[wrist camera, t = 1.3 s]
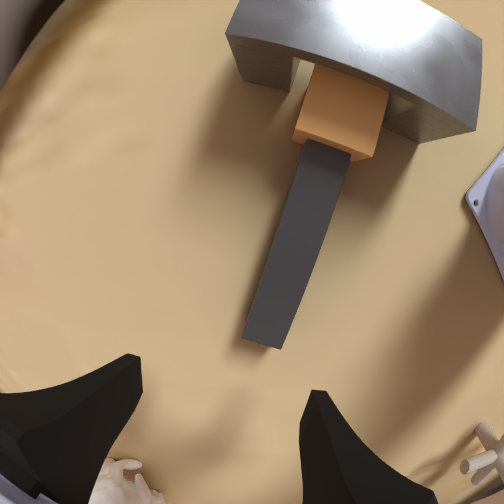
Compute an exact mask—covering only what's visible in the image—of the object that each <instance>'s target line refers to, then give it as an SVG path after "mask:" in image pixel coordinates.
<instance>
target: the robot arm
mask: <svg viewBox="0 0 504 504" xmlns="http://www.w3.org/2000/svg"><path fill="white" fill-rule="evenodd" d="M474 200H475V201H476V204H475V206H474ZM466 201H467V203H468V205H469V207H470V208H471V210H472V212H473V214H474V216H475V218H476V220H477V222H478V224H479V226H480V228H481V230H482V232H483V234H484V236H485V238H486V240H487V243H488V245H489V247H490V249H491V251H492V254H493V256H494V258H495V261H496V263H497V266H498V268H499V271H500V273H501V276H502V278H503V281H504V148H503V149H502V151H501V152H500V153H499V155H498V156H497V157H496V158H495V160H494V161H493V162H492V163H491V164H490V166H489V167H488V168H487V169H486V170H485V172H484V173H483V174H482V175H481V176H480V178H479V179H478V180H477V181H476V182H475V183H474V184H473V186H472V187H471V188H470V189H469V190H468V191H467V193H466ZM142 393H143V388H142V375H141V358H140V357H139V356H135V355H132V354H129V353H127V354H125V355H123V356H121V357H120V358H118V359H116V360H114V361H112V362H110V363H108V364H106V365H105V366H103V367H101V368H99V369H97V370H95V371H93V372H91V373H88V374H86V375H84V376H82V377H79V378H77V379H75V380H72V381H70V382H67V383H64V384H61V385H57V386H54V387H50V388H46V389H41V390H36V391H31V392H23V393H0V504H88V503H89V500H90V497H91V494H92V491H93V488H94V485H95V483H96V480H97V478H98V475H99V473H100V470H101V468H102V465H103V463H104V461H105V459H106V457H107V455H108V452H109V450H110V449H111V447H112V445H113V443H114V442H115V440H116V439H117V437H118V436H119V434H120V432H121V431H122V429H123V428H124V426H125V425H126V423H127V422H128V420H129V418H130V417H131V415H132V414H133V412H134V410H135V408H136V406H137V404H138V402H139V400H140V397H141V395H142ZM299 448H300V459H301V469H302V480H303V504H438V502H437V499H436V496H435V494H434V492H433V491H432V490H430V489H428V488H425V487H423V486H421V485H419V484H417V483H415V482H413V481H411V480H410V479H408V478H406V477H405V476H403V475H401V474H400V473H398V472H397V471H395V470H394V469H393V468H391V467H390V466H389V465H387V464H386V463H385V462H383V461H382V460H381V459H380V458H379V457H378V456H376V455H375V454H374V453H373V452H372V451H371V450H370V449H369V448H368V447H367V446H366V445H365V444H364V443H363V442H362V441H361V439H360V438H359V437H358V436H357V435H356V433H355V432H354V431H353V430H352V428H351V427H350V426H349V424H348V423H347V422H346V420H345V419H344V417H343V416H342V415H341V413H340V412H339V410H338V409H337V407H336V406H335V404H334V402H333V401H332V399H331V398H330V396H329V395H328V393H327V392H326V391H321V390H311V393H310V396H309V399H308V402H307V404H306V407H305V410H304V413H303V415H302V418H301V421H300V430H299Z"/></svg>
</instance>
